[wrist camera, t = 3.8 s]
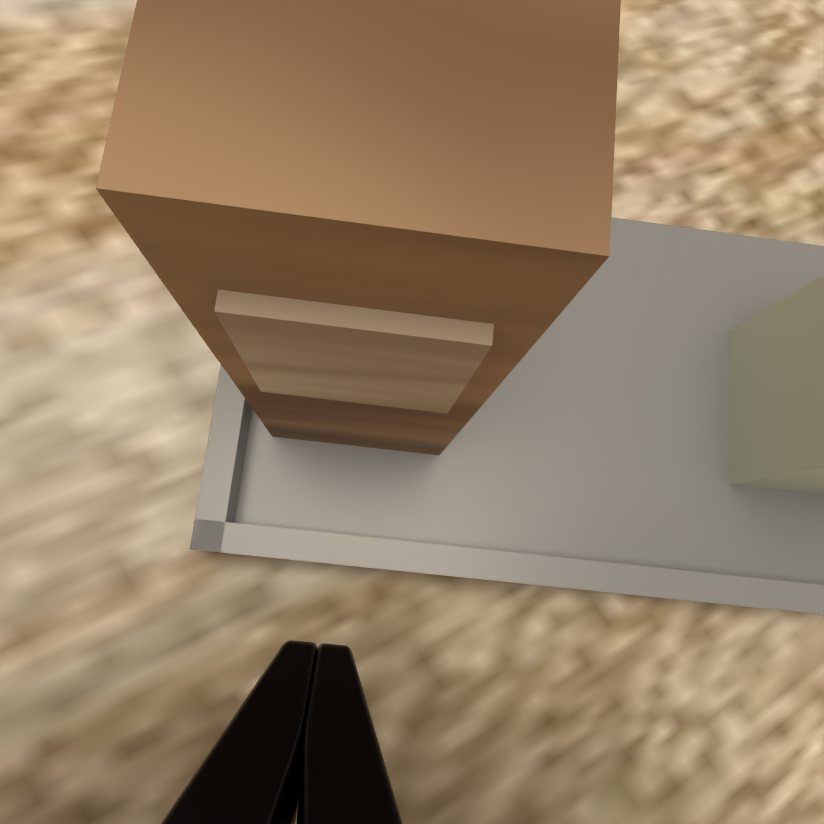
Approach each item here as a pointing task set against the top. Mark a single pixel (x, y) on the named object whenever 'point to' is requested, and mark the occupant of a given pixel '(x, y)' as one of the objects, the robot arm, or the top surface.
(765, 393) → the sage box
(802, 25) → the top surface
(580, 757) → the top surface
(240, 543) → the parts tray
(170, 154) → the walnut box
